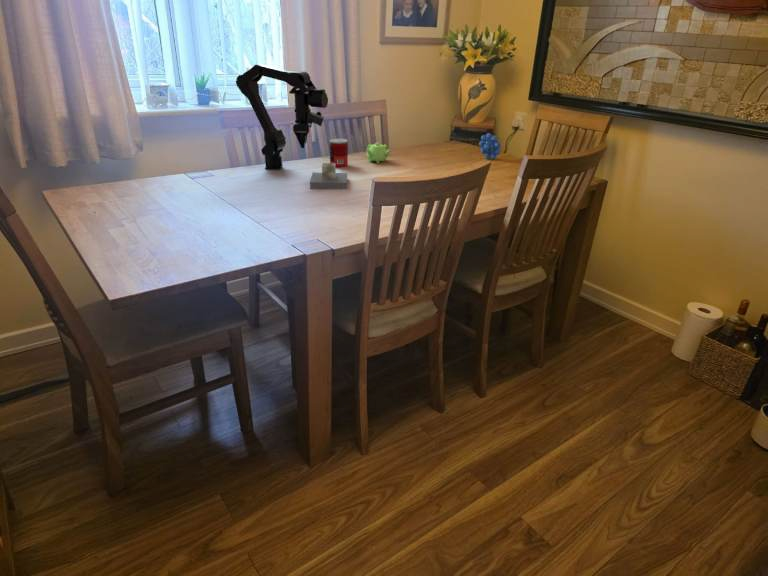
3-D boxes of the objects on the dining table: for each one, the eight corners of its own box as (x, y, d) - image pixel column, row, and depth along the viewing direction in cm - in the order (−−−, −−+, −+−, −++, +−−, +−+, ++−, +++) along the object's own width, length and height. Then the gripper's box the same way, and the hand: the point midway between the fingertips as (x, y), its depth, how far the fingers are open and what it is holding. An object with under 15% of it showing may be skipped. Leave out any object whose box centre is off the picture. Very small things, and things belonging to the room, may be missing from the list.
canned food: (351, 164, 228) (351, 139, 223) (340, 168, 222) (340, 142, 217) (337, 162, 232) (337, 137, 227) (326, 165, 226) (325, 140, 221)
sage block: (322, 179, 198) (321, 166, 196) (323, 175, 202) (322, 163, 200) (335, 179, 198) (334, 166, 196) (335, 175, 203) (335, 163, 200)
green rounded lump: (363, 158, 240) (363, 140, 236) (387, 158, 242) (388, 140, 238) (366, 164, 230) (366, 145, 226) (391, 164, 232) (392, 145, 228)
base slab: (310, 188, 195) (309, 182, 194) (312, 178, 207) (312, 172, 206) (346, 189, 196) (346, 182, 194) (347, 179, 208) (347, 172, 207)
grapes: (473, 158, 246) (475, 132, 241) (480, 155, 251) (483, 130, 245) (494, 162, 240) (497, 136, 234) (501, 160, 245) (504, 134, 239)
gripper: (321, 110, 196) (322, 151, 203) (323, 103, 212) (324, 141, 219) (291, 109, 195) (294, 150, 202) (296, 102, 211) (298, 140, 219)
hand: (303, 145), depth 211 cm, fingers open, 9 cm apart
